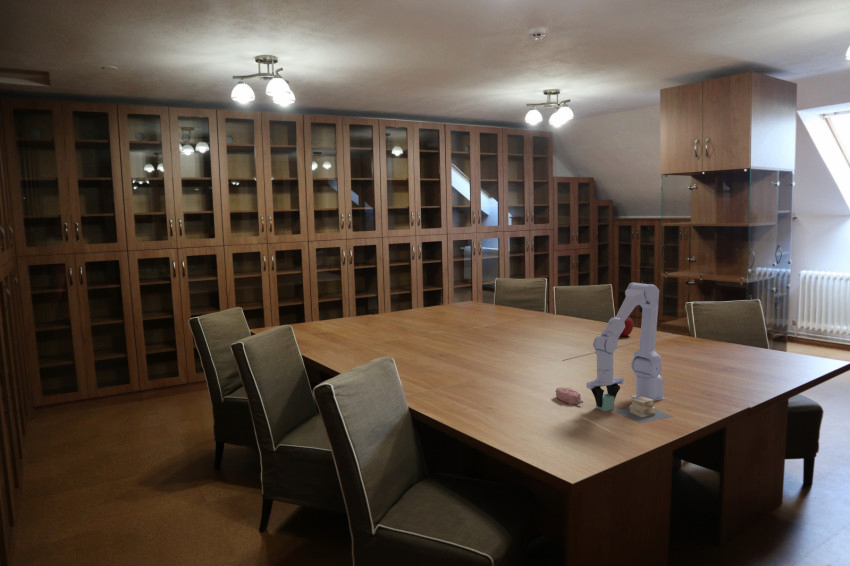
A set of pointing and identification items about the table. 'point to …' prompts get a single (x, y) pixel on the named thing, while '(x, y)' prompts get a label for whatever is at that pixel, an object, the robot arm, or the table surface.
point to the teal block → (607, 402)
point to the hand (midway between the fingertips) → (605, 405)
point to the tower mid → (642, 402)
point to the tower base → (642, 411)
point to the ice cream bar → (568, 395)
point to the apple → (627, 327)
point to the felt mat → (642, 419)
